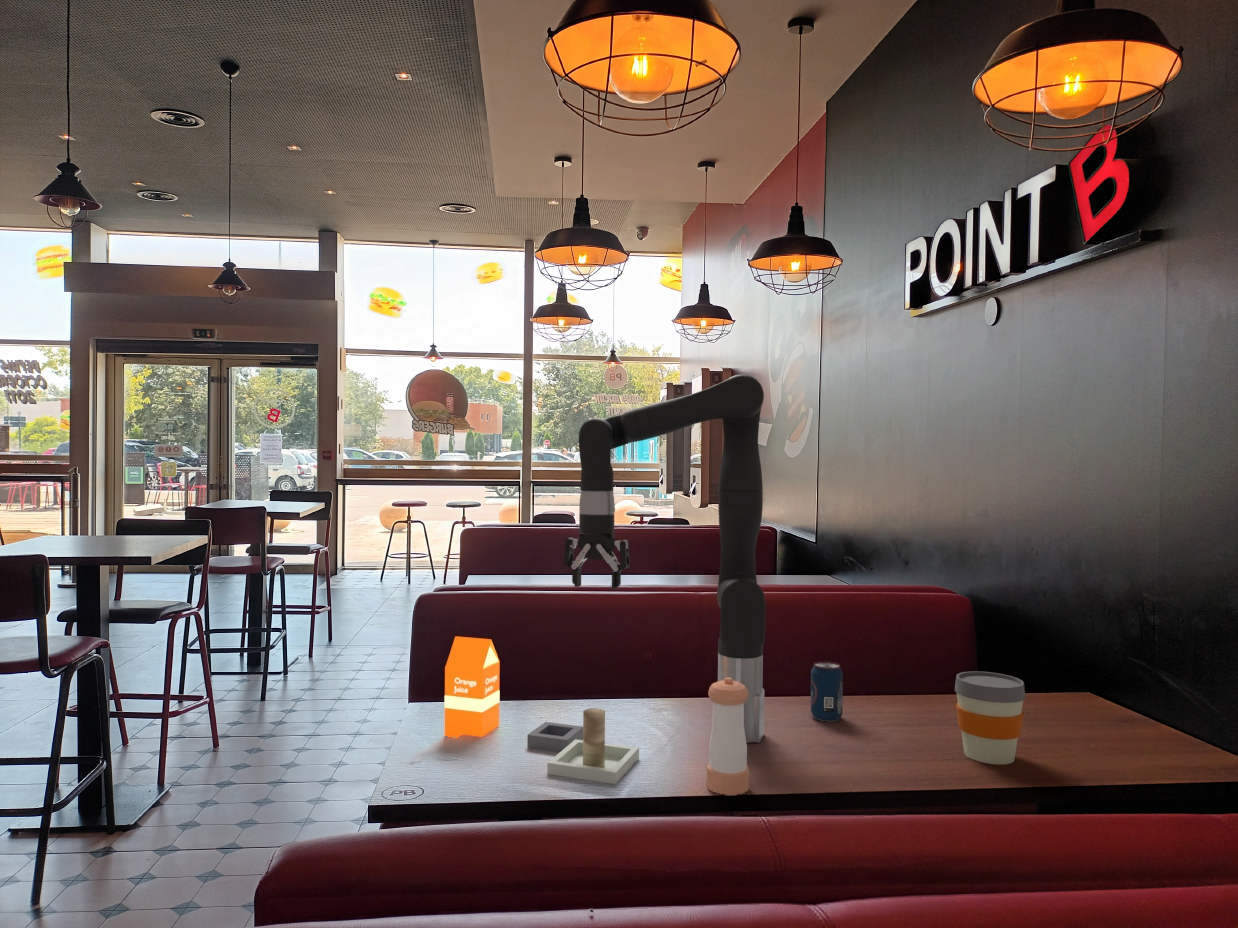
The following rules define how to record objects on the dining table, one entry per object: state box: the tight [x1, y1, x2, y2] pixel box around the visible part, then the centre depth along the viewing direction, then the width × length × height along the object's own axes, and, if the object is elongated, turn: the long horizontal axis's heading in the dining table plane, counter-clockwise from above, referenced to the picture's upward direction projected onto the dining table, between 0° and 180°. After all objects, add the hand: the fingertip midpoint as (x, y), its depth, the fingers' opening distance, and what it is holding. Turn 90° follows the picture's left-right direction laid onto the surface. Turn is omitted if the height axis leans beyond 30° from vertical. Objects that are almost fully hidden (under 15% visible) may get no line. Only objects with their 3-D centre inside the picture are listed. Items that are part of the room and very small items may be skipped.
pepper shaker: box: [706, 677, 750, 796], centre depth 139 cm, size 7×7×19 cm
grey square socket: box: [526, 721, 583, 753], centre depth 158 cm, size 8×8×4 cm
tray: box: [546, 739, 640, 785], centre depth 146 cm, size 13×13×3 cm
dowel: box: [582, 707, 606, 768], centre depth 146 cm, size 4×4×10 cm
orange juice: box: [444, 636, 501, 739], centre depth 166 cm, size 8×9×20 cm
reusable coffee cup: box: [954, 670, 1026, 765], centre depth 156 cm, size 13×13×15 cm
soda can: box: [810, 661, 844, 723], centre depth 178 cm, size 7×7×12 cm
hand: (596, 587), depth 170 cm, fingers open, 8 cm apart
